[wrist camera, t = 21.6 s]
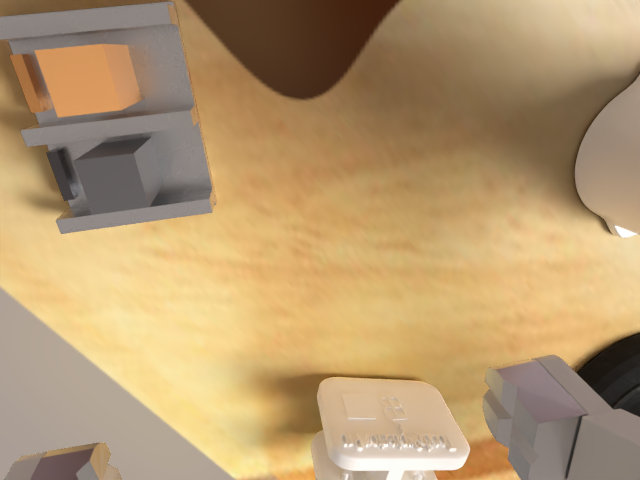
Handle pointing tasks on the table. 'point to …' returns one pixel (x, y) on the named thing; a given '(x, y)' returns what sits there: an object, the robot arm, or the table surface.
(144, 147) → the dark gray block
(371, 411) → the cable organizer
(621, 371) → the banker's lamp
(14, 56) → the gray divided tray
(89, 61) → the orange block
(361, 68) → the table surface
